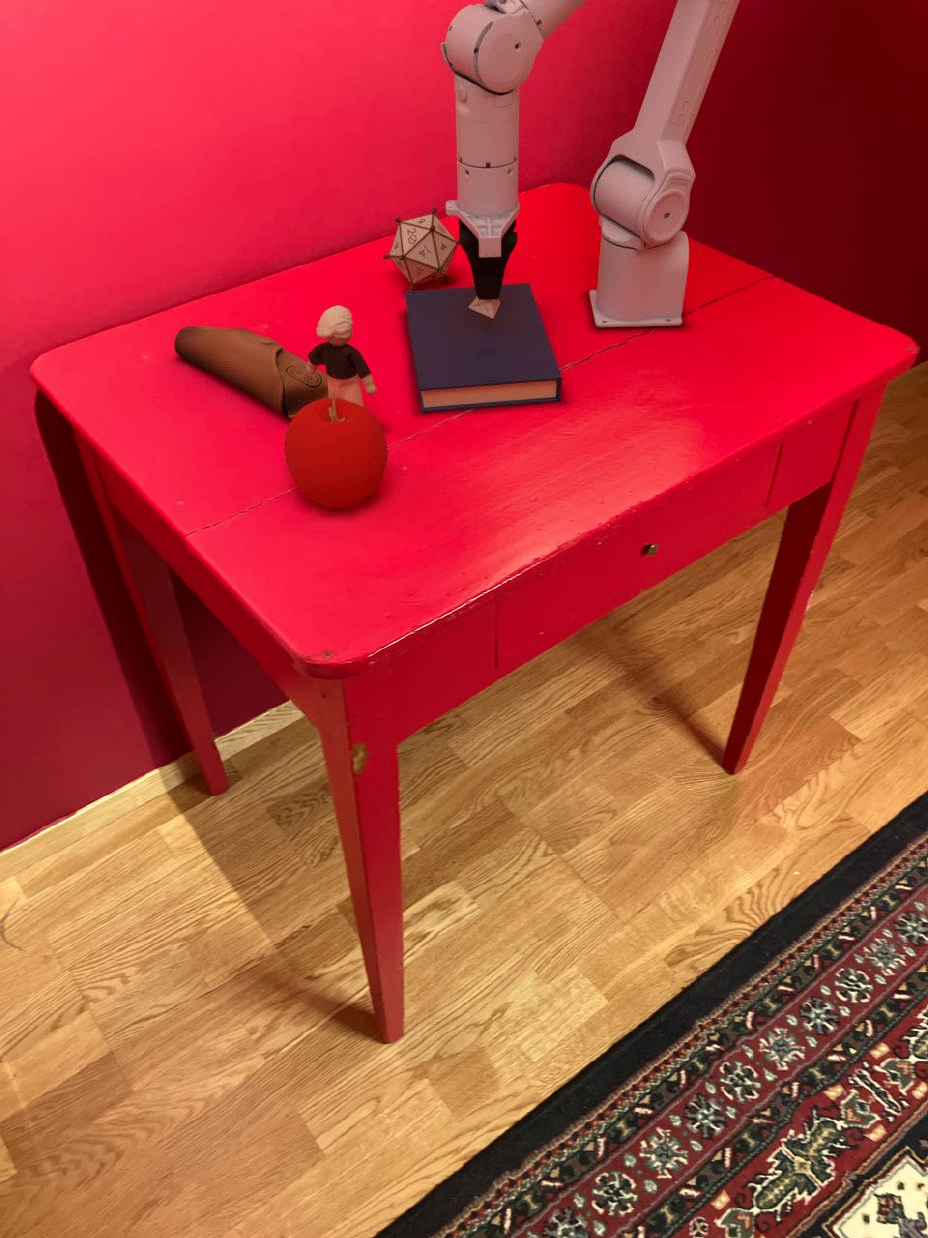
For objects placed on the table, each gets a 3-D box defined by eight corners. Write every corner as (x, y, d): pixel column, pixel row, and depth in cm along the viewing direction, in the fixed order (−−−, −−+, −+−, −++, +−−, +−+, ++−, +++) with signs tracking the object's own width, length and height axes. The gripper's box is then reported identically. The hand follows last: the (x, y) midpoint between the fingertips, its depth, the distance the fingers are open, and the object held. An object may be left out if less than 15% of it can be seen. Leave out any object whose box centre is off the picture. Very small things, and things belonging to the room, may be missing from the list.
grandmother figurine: (392, 423, 100) (382, 303, 91) (377, 445, 97) (365, 324, 88) (320, 410, 102) (304, 291, 93) (304, 431, 99) (285, 311, 90)
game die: (439, 315, 122) (462, 272, 113) (370, 292, 121) (388, 246, 111) (453, 251, 125) (477, 204, 115) (387, 227, 123) (405, 177, 113)
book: (528, 305, 116) (529, 282, 114) (560, 401, 102) (561, 377, 100) (405, 314, 115) (404, 291, 113) (421, 412, 101) (419, 388, 99)
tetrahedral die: (509, 317, 105) (516, 288, 104) (492, 318, 103) (499, 289, 102) (485, 307, 107) (491, 278, 106) (467, 307, 105) (474, 278, 104)
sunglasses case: (348, 383, 104) (316, 346, 98) (308, 439, 103) (273, 405, 98) (237, 326, 113) (202, 289, 107) (199, 377, 112) (162, 342, 107)
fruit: (412, 490, 92) (405, 395, 85) (334, 537, 88) (321, 440, 81) (346, 449, 97) (335, 355, 90) (269, 491, 93) (251, 396, 86)
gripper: (444, 128, 99) (448, 262, 109) (444, 188, 89) (448, 330, 99) (516, 127, 99) (514, 260, 109) (525, 187, 89) (521, 328, 99)
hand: (487, 293), depth 104 cm, fingers closed on tetrahedral die
